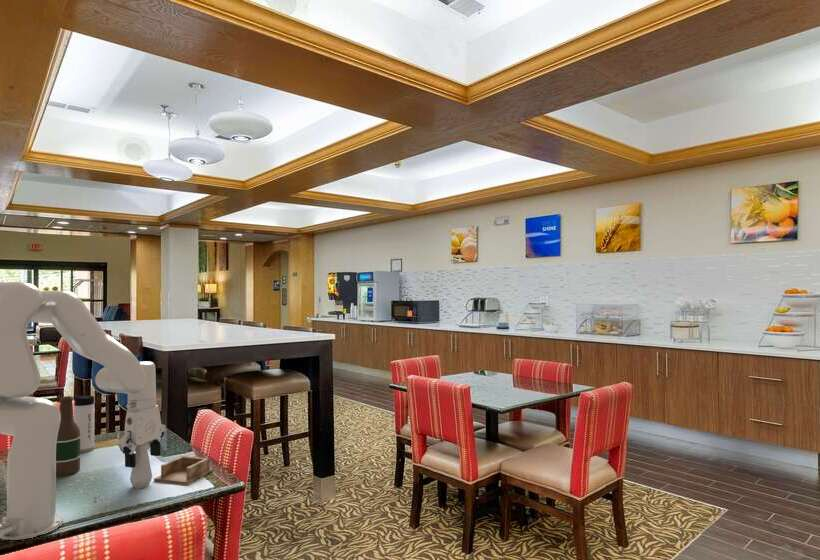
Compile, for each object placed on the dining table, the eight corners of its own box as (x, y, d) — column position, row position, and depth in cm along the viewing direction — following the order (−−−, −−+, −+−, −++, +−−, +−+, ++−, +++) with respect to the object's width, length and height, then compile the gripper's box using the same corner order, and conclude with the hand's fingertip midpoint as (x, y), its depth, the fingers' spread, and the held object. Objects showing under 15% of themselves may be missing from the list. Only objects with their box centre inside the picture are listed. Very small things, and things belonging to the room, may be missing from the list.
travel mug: (74, 449, 188) (74, 394, 189) (95, 446, 191) (95, 392, 192) (71, 454, 183) (71, 397, 183) (92, 451, 185) (93, 395, 186)
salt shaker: (125, 487, 151) (125, 442, 151) (143, 481, 156) (143, 437, 156) (138, 490, 148) (138, 445, 148) (156, 484, 153) (156, 440, 154)
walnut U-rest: (187, 485, 152) (187, 470, 153) (153, 481, 156) (154, 467, 156) (213, 471, 164) (213, 457, 164) (181, 468, 167) (181, 454, 167)
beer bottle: (65, 477, 159) (66, 400, 160) (44, 476, 161) (45, 399, 161) (86, 469, 167) (86, 395, 167) (65, 467, 168) (66, 394, 169)
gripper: (129, 411, 143) (130, 473, 144) (173, 397, 160) (174, 452, 160) (107, 410, 145) (108, 470, 146) (153, 396, 162) (154, 450, 162)
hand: (143, 461), depth 153 cm, fingers open, 9 cm apart
